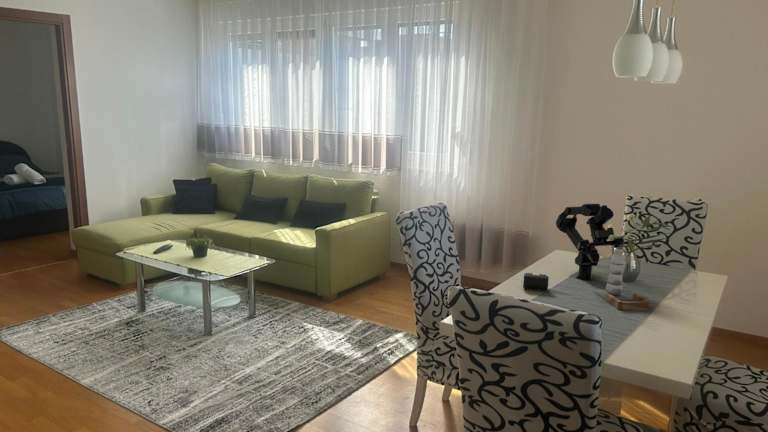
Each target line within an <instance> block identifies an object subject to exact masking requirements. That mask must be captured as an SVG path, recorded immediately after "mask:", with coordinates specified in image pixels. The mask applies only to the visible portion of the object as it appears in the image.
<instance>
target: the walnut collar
mask: <svg viewBox="0 0 768 432" xmlns="http://www.w3.org/2000/svg"><path fill="white" fill-rule="evenodd" d="M632 298H633V300H629V301H620V300H619V299H617V298H616V297H614V296H612V295H611V294H606V300H605V302H607V303H608V304H609V305H611V306H612V307H613V308H615V309H617V310H618V311H641V310H642V311H644V310H645V311H648V310H652V308H653V307H652V306H653V305H652V304H653V302H652V301H651V300H649V299H647V298H646V297H644V296H642V295H640V294H639V293H637V292H635V293H633V295H632Z"/></svg>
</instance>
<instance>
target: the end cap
mask: <svg viewBox="0 0 768 432" xmlns="http://www.w3.org/2000/svg"><path fill="white" fill-rule="evenodd" d="M549 279H550V277H549V275H548V276H547V274H544V273H539V274H533V273H532V272H525V273H524V274H523V282H522V283H523V285H522V287H523V289H524V290H527V291H528V290H529V291H538V292H547V291H549V288H548V287H549V281H550V280H549Z"/></svg>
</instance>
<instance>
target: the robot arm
mask: <svg viewBox="0 0 768 432" xmlns="http://www.w3.org/2000/svg"><path fill="white" fill-rule="evenodd" d="M578 215H581V216H584V217H590V218H588V219H587V221H586V225H588V226H589V230H590V237H591V240H592V241H590V239H584V238H583V236H582V235H581V234H580V233H579V231H578V230H577V229H576V227H577V226H576V225H577V223H578V219H577V218H578V217H577V216H578ZM568 216H572V217H568ZM613 218H614V211H613V210H612V209H611V208H609V207H608V205H606V204H603V205H601V204H600V203H584V204H582V205H581V206H567V207H565V208H564V211H562V212H561V213H560V214H559V215H558V217H557V219H556V221H555V225H556V229H558V230H559V231H560V232H562V233H564V234H566V235H567V237H568V239H569V240H570V242H571V243H572V244H573V246H574V247H575V248H576V250H577V251H578V253H577V256H576V257H575V258H574V264H576V265H577V266H578V273H577V275H576V277H575V278H576V279H580V280H585V281H586V280H587V281H592V280H593V277H594V275H592V273H593V267H595V266H596V267H597V266H598V264H599V261H600V258H601V256H600V253H599V251H598V249H597V248H596V247H605V246H611V253H612V255H613V254H614V252H613V251H614V247H620V248H623V247H624V245H625V239H624V238H623V237H622V236H621V237H620V236H619V237H613V239H612V240H609V238H610V237H611V236H614V234H615V232H614V228H613V227H608V228H605V227H604V225H606V224H607V223H608V222H609V221H610V220H611V219H613Z"/></svg>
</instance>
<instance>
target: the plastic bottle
mask: <svg viewBox="0 0 768 432" xmlns="http://www.w3.org/2000/svg"><path fill="white" fill-rule="evenodd" d="M624 250H625V249H624V248H623V247H621V248H620V247H614V251H613V252H614V254H612V255H610V257H609V258H608V277H607V282H606V285H605V290H606V292H607V293H608V294H611V295H620V294H621V293H622V292H623V290H624V289H623V287H624V286H623V274H624V270H625V266H626V262H627V261H626V257H624Z"/></svg>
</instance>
